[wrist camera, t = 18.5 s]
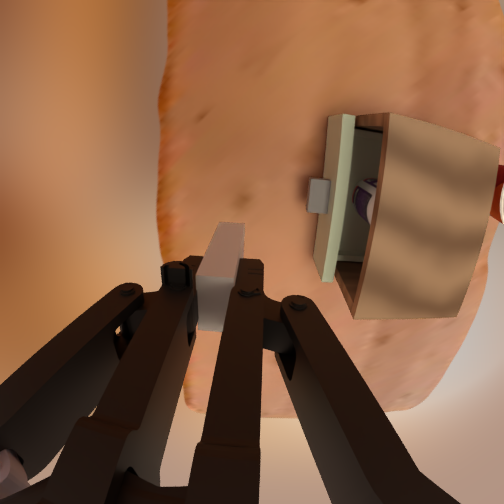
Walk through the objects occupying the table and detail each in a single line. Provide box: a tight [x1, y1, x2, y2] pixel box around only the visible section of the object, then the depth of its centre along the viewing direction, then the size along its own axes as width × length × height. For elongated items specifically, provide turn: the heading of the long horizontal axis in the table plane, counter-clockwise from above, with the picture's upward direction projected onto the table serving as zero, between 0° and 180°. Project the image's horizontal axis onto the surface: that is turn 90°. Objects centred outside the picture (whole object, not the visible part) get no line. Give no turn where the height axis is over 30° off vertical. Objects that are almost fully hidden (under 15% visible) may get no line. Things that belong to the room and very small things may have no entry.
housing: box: [334, 113, 500, 320], centre depth 31 cm, size 20×14×15 cm
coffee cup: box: [490, 165, 504, 225], centre depth 29 cm, size 8×8×15 cm
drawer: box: [306, 114, 383, 282], centre depth 34 cm, size 20×16×7 cm
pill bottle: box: [351, 178, 378, 225], centre depth 32 cm, size 5×5×10 cm
